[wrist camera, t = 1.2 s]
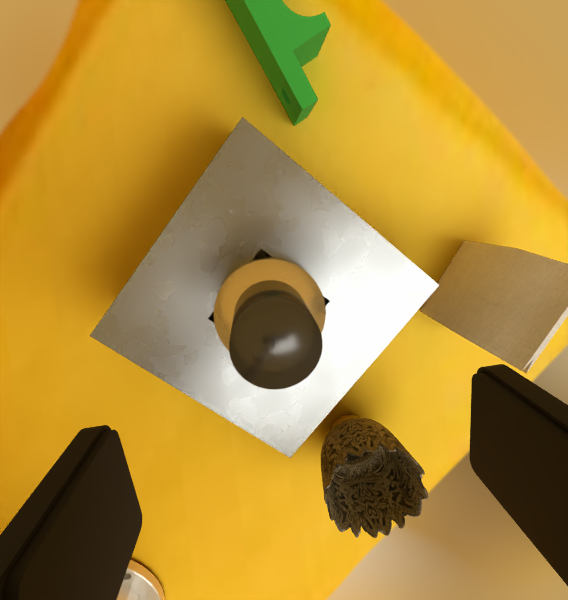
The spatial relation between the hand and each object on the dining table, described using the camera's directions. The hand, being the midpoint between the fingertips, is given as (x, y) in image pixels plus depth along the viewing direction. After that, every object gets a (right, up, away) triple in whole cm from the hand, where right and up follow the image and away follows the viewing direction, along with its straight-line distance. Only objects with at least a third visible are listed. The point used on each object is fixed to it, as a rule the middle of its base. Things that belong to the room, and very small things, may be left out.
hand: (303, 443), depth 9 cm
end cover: (-2, +4, +18) cm, 19 cm away
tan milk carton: (+14, +5, +21) cm, 26 cm away
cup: (+5, -8, +23) cm, 25 cm away
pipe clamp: (-1, +22, +15) cm, 27 cm away
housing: (-2, +5, +19) cm, 20 cm away
